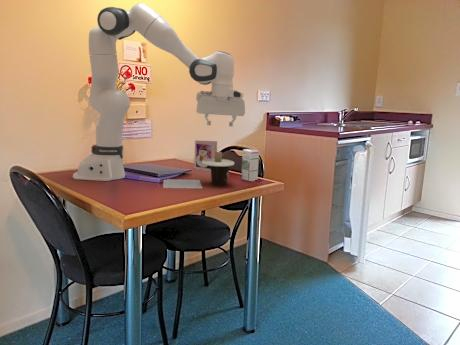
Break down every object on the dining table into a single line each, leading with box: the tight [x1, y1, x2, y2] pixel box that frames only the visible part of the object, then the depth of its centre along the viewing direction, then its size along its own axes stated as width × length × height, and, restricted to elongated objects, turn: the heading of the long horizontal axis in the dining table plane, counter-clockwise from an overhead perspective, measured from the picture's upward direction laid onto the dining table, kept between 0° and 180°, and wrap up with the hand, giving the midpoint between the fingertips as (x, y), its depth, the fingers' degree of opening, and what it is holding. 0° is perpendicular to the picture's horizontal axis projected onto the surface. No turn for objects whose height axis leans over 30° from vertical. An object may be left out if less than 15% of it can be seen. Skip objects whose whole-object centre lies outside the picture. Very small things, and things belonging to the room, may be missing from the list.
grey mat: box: [162, 178, 203, 190], centre depth 171 cm, size 16×16×1 cm
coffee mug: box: [210, 166, 231, 187], centre depth 171 cm, size 12×9×10 cm
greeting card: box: [193, 139, 218, 173], centre depth 205 cm, size 11×7×15 cm, turn 61°
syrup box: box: [240, 148, 260, 182], centre depth 186 cm, size 6×6×14 cm
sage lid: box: [202, 151, 235, 167], centre depth 170 cm, size 14×14×5 cm
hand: (219, 125), depth 167 cm, fingers open, 8 cm apart
